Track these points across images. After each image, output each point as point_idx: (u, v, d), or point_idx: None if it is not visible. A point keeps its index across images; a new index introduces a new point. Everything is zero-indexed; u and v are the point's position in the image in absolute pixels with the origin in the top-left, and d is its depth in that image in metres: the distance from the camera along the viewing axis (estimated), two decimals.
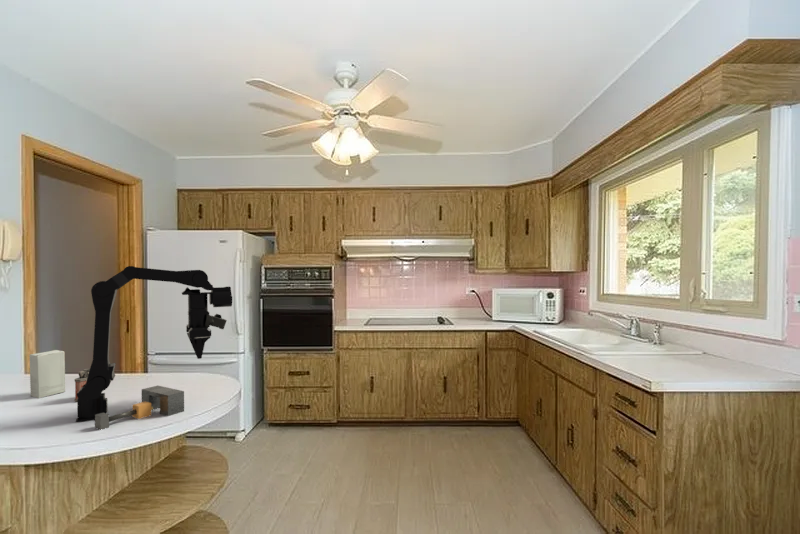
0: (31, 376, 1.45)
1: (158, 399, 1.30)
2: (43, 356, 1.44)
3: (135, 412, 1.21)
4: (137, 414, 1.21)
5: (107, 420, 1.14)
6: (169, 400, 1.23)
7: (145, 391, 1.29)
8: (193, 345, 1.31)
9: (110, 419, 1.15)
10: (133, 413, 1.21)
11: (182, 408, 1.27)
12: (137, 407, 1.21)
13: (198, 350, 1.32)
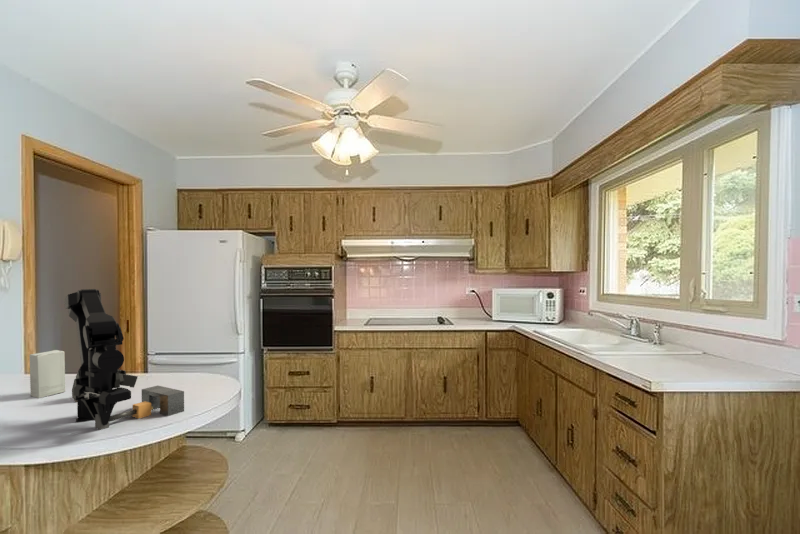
0: (31, 376, 1.45)
1: (158, 399, 1.30)
2: (43, 356, 1.44)
3: (135, 412, 1.21)
4: (137, 414, 1.21)
5: None
6: (169, 400, 1.23)
7: (145, 391, 1.29)
8: (100, 410, 1.11)
9: (110, 419, 1.15)
10: (133, 413, 1.21)
11: (182, 408, 1.27)
12: (137, 407, 1.21)
13: (104, 416, 1.13)
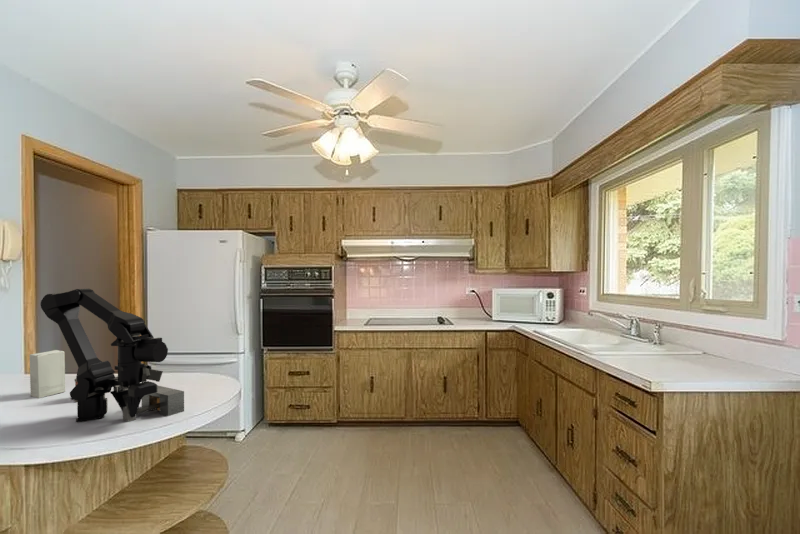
0: (31, 376, 1.45)
1: None
2: (43, 356, 1.44)
3: None
4: None
5: None
6: (169, 400, 1.23)
7: None
8: (129, 403, 1.17)
9: (137, 411, 1.21)
10: (158, 406, 1.26)
11: (182, 408, 1.27)
12: None
13: (132, 408, 1.19)
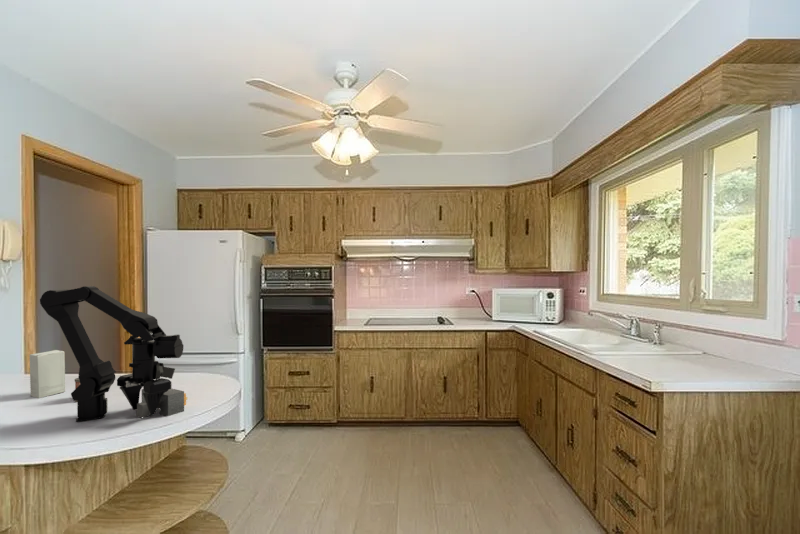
0: (31, 376, 1.45)
1: None
2: (43, 356, 1.44)
3: None
4: None
5: (148, 409, 1.23)
6: (169, 400, 1.23)
7: None
8: (149, 401, 1.19)
9: None
10: None
11: (182, 408, 1.27)
12: None
13: (152, 406, 1.21)
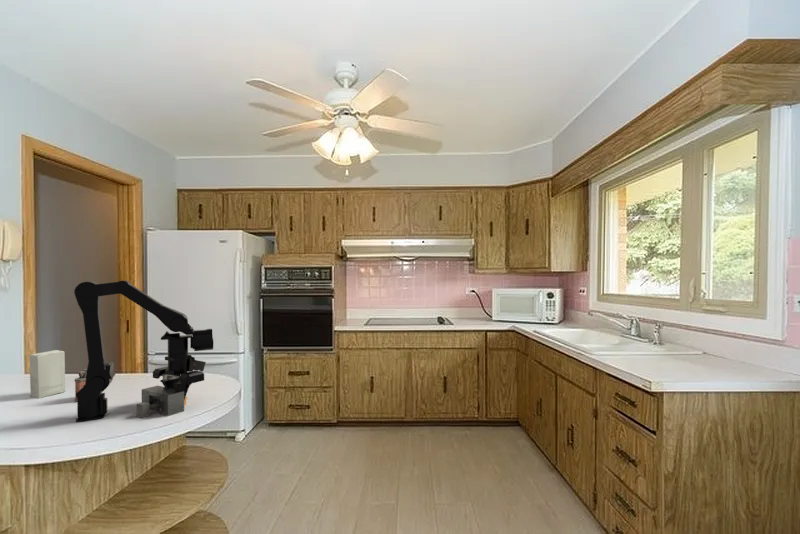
0: (31, 376, 1.45)
1: (158, 399, 1.30)
2: (43, 356, 1.44)
3: None
4: None
5: (148, 408, 1.23)
6: (169, 400, 1.23)
7: (145, 391, 1.29)
8: None
9: (150, 408, 1.25)
10: None
11: (182, 408, 1.27)
12: None
13: None
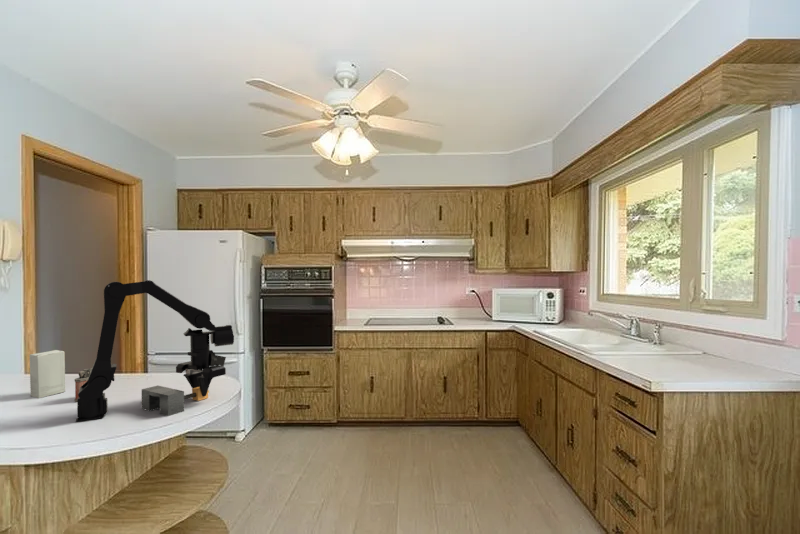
0: (31, 376, 1.45)
1: (158, 399, 1.30)
2: (43, 356, 1.44)
3: (195, 395, 1.37)
4: (197, 396, 1.37)
5: None
6: (169, 400, 1.23)
7: (145, 391, 1.29)
8: (202, 384, 1.36)
9: None
10: (193, 395, 1.36)
11: (182, 408, 1.27)
12: (197, 390, 1.37)
13: (204, 388, 1.38)
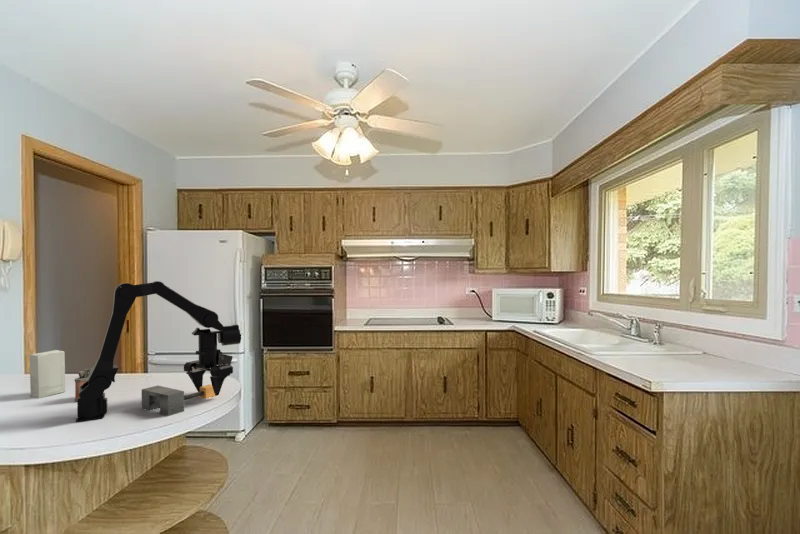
0: (31, 376, 1.45)
1: (158, 399, 1.30)
2: (43, 356, 1.44)
3: (203, 393, 1.39)
4: (204, 395, 1.40)
5: None
6: (169, 400, 1.23)
7: (145, 391, 1.29)
8: (215, 383, 1.37)
9: (184, 398, 1.34)
10: (201, 394, 1.39)
11: (182, 408, 1.27)
12: (204, 389, 1.40)
13: (217, 388, 1.39)
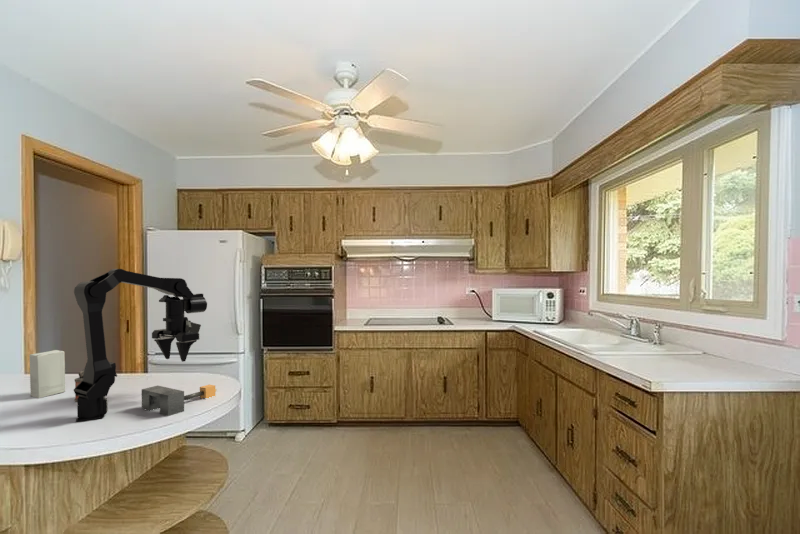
0: (31, 376, 1.45)
1: (158, 399, 1.30)
2: (43, 356, 1.44)
3: (203, 393, 1.39)
4: (204, 395, 1.40)
5: None
6: (169, 400, 1.23)
7: (145, 391, 1.29)
8: (181, 349, 1.40)
9: (184, 398, 1.34)
10: (201, 394, 1.39)
11: (182, 408, 1.27)
12: (204, 389, 1.40)
13: (183, 354, 1.41)
